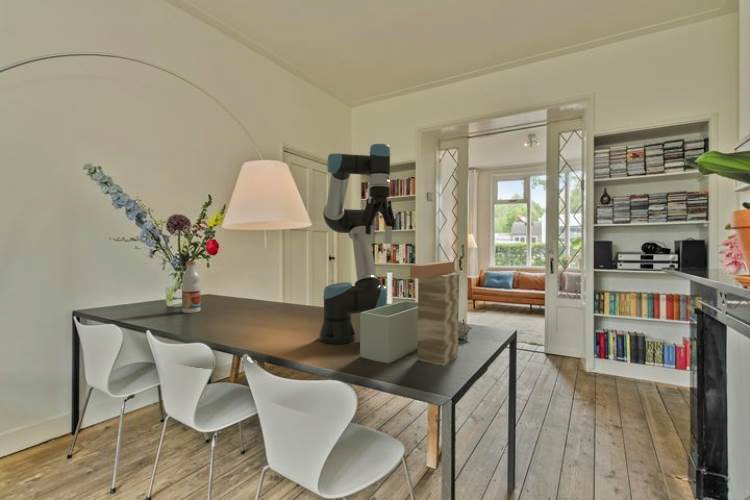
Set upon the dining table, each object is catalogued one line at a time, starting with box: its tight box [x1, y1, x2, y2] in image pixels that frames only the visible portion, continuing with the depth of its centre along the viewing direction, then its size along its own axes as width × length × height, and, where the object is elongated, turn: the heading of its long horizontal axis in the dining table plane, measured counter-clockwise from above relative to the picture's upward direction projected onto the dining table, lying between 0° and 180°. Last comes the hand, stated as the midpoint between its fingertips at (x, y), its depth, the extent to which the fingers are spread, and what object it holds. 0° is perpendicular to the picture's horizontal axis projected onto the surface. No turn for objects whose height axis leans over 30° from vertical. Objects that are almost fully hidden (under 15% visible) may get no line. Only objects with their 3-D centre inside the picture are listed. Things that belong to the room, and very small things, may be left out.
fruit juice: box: [181, 261, 202, 314], centre depth 205 cm, size 9×9×28 cm
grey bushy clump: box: [458, 318, 473, 340], centre depth 154 cm, size 9×8×10 cm
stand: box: [416, 272, 460, 367], centre depth 128 cm, size 12×10×30 cm
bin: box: [359, 300, 418, 365], centre depth 138 cm, size 31×12×16 cm, turn 145°
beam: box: [409, 260, 456, 279], centre depth 125 cm, size 26×4×4 cm, turn 145°
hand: (379, 243), depth 137 cm, fingers open, 13 cm apart
